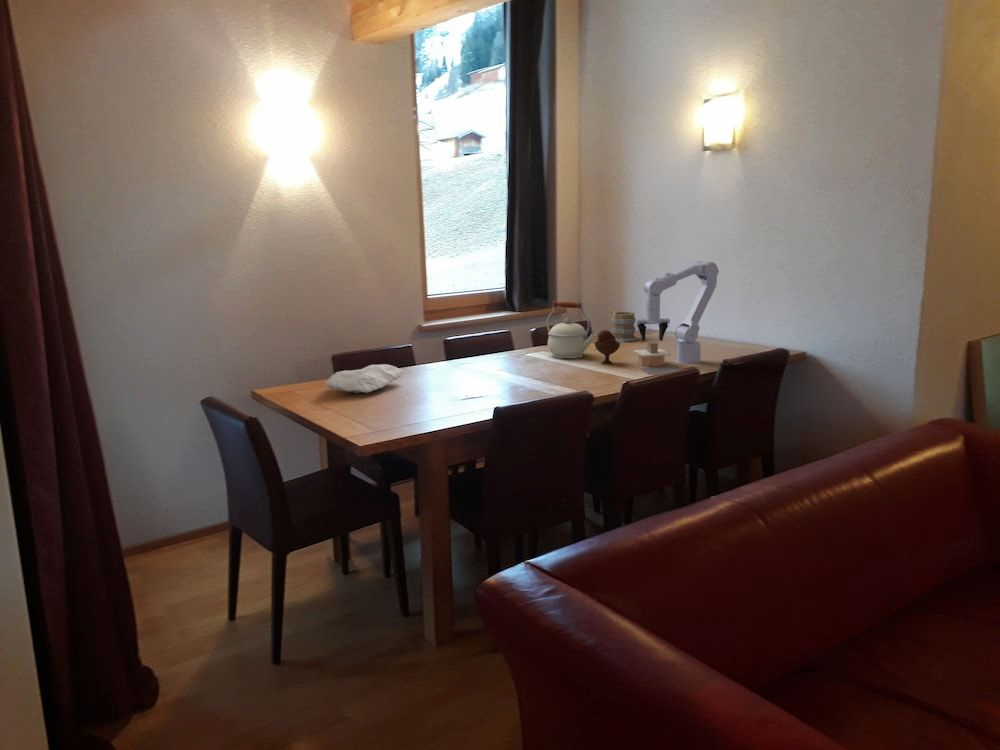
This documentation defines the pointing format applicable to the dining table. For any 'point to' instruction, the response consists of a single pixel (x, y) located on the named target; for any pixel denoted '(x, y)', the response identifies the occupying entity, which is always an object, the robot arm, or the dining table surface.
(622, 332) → the tankard
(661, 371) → the mat
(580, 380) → the dining table surface
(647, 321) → the robot arm
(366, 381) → the crumpled cloth
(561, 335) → the kettle
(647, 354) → the lid
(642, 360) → the bowl
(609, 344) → the ice cream bowl
